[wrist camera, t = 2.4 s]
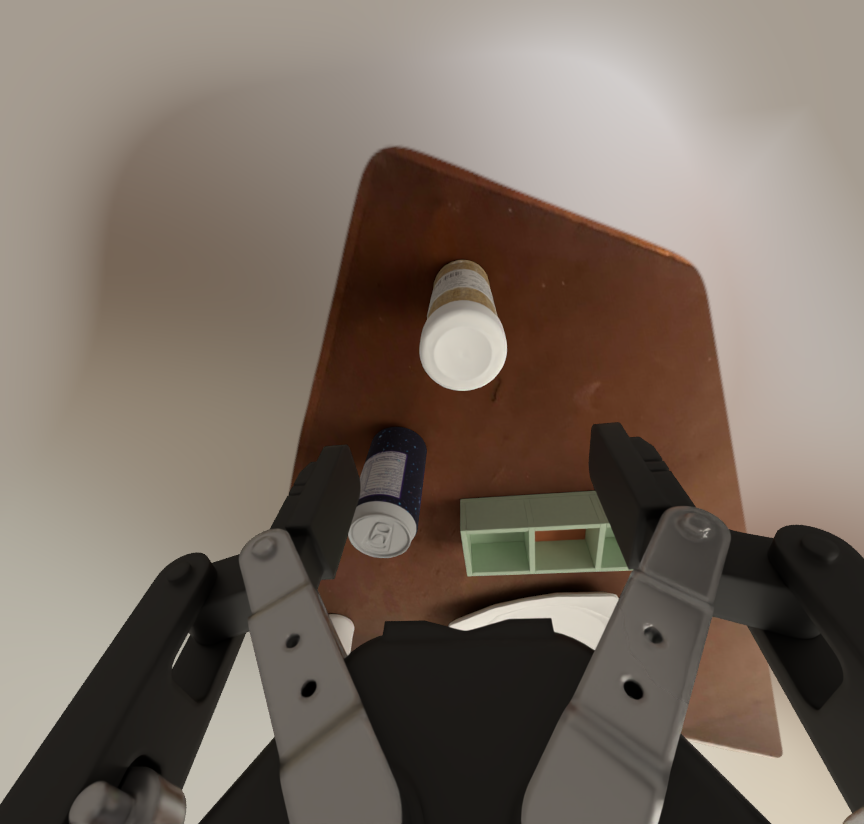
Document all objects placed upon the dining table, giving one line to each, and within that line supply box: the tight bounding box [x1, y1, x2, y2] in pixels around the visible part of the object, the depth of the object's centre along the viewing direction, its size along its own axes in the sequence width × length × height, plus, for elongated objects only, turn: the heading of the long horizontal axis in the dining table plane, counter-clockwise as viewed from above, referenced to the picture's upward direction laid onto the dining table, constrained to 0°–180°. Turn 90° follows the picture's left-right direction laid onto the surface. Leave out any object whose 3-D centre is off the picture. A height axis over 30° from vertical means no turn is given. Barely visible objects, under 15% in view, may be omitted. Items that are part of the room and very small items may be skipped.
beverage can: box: [348, 427, 427, 558], centre depth 35 cm, size 6×6×12 cm
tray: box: [460, 491, 633, 576], centre depth 42 cm, size 21×8×5 cm, turn 98°
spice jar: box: [420, 260, 507, 391], centre depth 25 cm, size 5×5×14 cm
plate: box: [448, 592, 619, 650], centre depth 56 cm, size 24×24×3 cm
